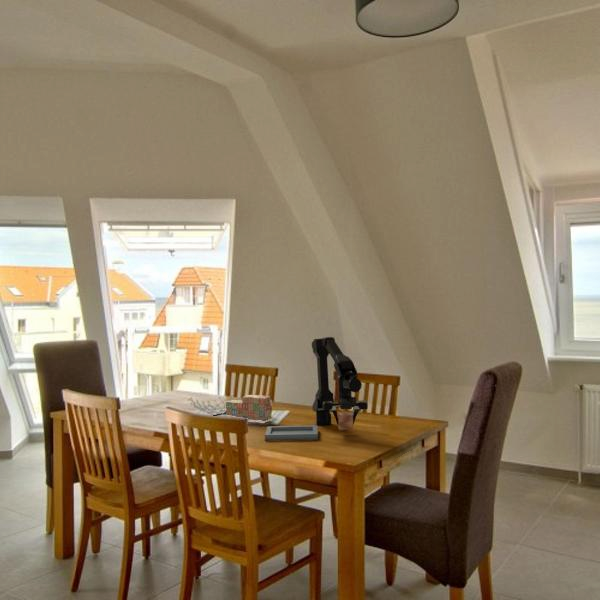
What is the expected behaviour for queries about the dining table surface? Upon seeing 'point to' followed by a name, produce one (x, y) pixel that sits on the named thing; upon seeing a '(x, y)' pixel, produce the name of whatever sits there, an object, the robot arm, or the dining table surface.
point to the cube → (345, 421)
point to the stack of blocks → (250, 407)
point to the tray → (291, 433)
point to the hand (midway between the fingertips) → (345, 425)
